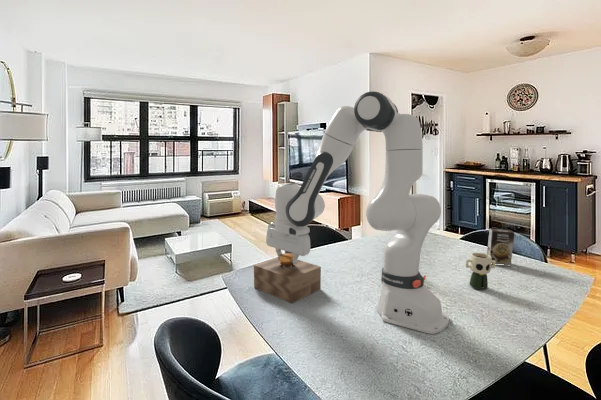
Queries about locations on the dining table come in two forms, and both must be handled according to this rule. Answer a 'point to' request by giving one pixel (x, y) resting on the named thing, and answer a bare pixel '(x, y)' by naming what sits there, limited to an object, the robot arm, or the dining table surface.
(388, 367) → the dining table surface
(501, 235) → the coffee box
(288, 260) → the steel pin
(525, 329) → the dining table surface
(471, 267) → the character mug
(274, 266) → the walnut block
